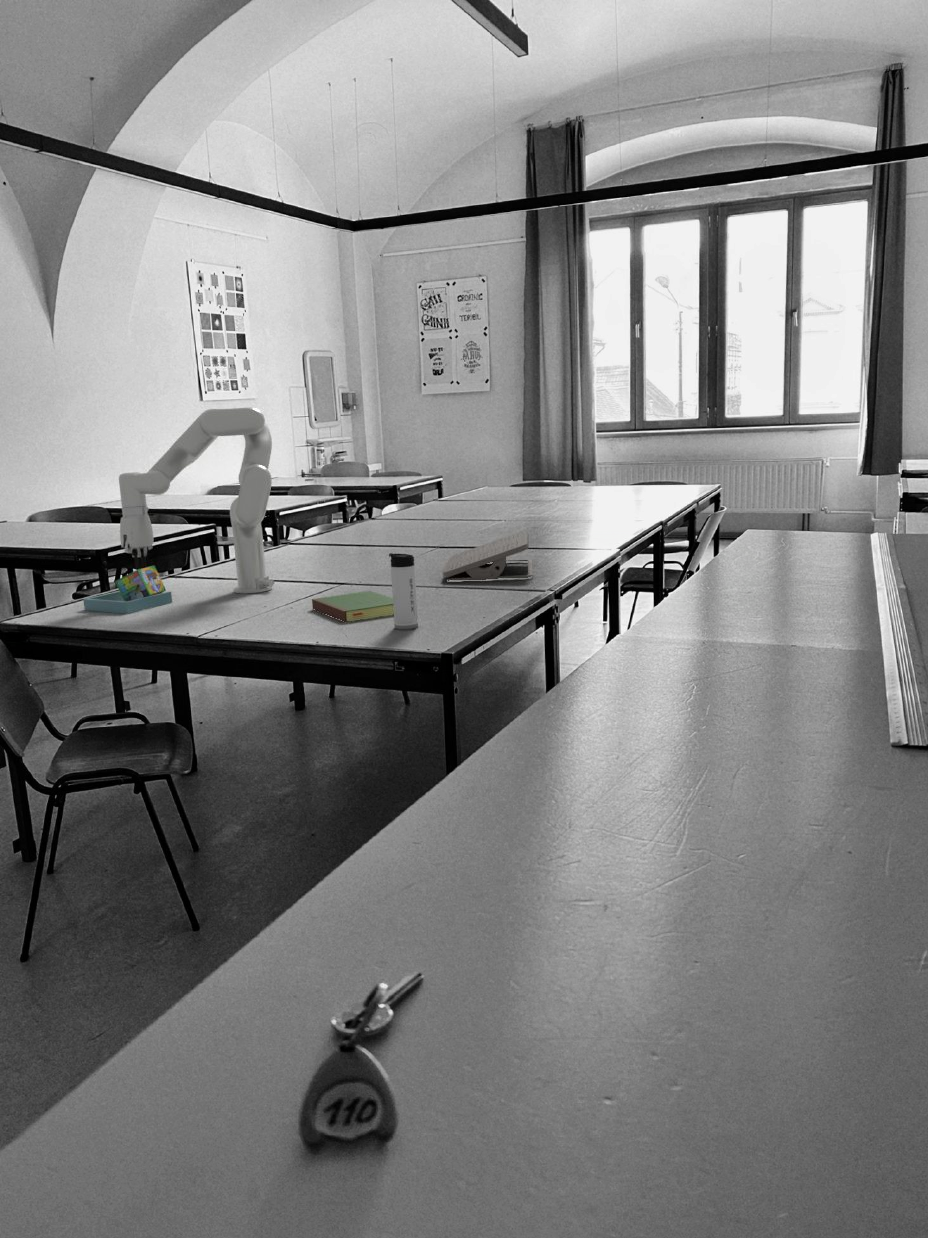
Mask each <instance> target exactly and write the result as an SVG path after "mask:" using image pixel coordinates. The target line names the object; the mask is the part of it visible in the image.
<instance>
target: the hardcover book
mask: <svg viewBox="0 0 928 1238" xmlns="http://www.w3.org/2000/svg"><path fill="white" fill-rule="evenodd" d="M311 604H312V605H311V606H312V610H313V609H315V610H316V611H315V610H314V611H315V612H317V611H319V612H318V613H320V612H321V613H320V614H322V613H324V614H323V615H325V614H327V615H329V616H328V617H330V616H332V617H334V618H333V619H335V618H337V619H340V620H342V621H344V622H343V623H345V622H347V621H352V622H355V621H354V620H358V619H365V620H368V619H367V618H371V619H376V618H375V617H377V618H380V617H379V616H384V617H388V616H387V615H390V616H392V615H391V614H394V609H393V597H391V596H387V595H384V594H380V593H377V592H374V591H371V590H366V591H360V592H352V593H346V594H345V593H344V594H338V595H331V596H324V597H320V598H318V597H317V598H312V599H311ZM327 615H326V616H327ZM332 617H331V618H332ZM337 619H336V620H337ZM340 620H339V621H340ZM342 621H341V622H342ZM347 623H348V622H347Z"/></svg>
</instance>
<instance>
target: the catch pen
mask: <svg viewBox="0 0 928 1238" xmlns="http://www.w3.org/2000/svg"><path fill="white" fill-rule="evenodd" d="M172 596H173V595H172V591H164V592H163V593H160V594H156V595H152V596H148V597H144V598H140V599H136V600H131V601H127V602H126V601H124V599H123V597H122V595H121V593H120V591H119V590H117V591H114V592H113V591H112V592H109V593H104V594H100V595H96V596H95V595H94V596H91V597H86V598H83V605H84V606H83V607H84V608H83V609H84V611H91V612H104V613H116V614H126V615H127V614H132V613H136V611H137V612H141V611H144V610H143V609H145V610H148V609H152V608H151V607H153V608H156V606H157V607H159V606H165V605H167V604H172V603H173V597H172ZM171 602H172V603H171Z"/></svg>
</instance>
